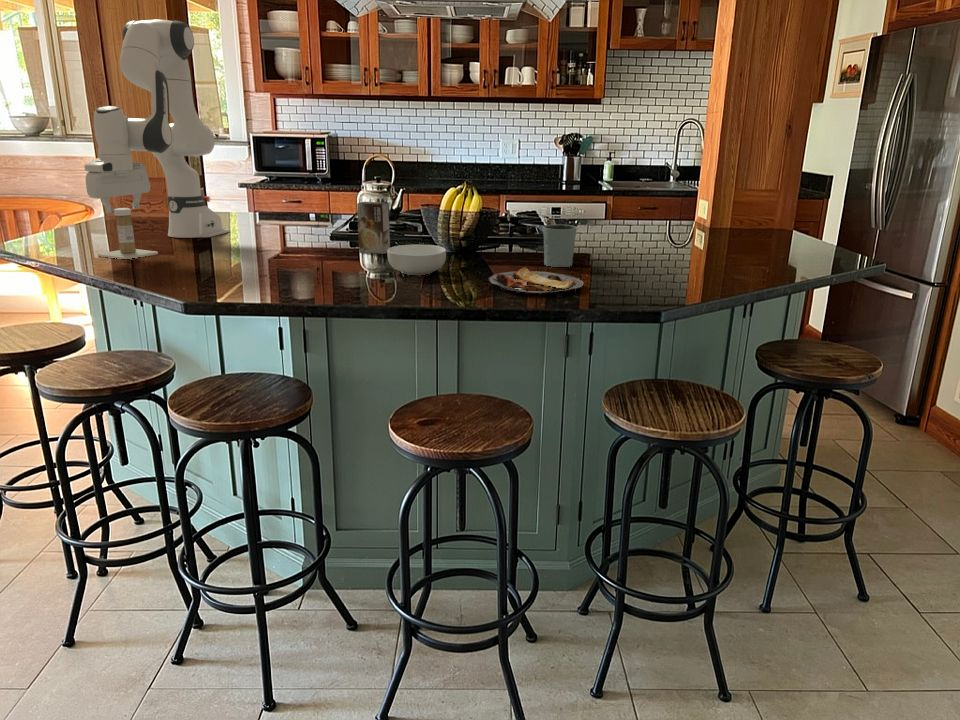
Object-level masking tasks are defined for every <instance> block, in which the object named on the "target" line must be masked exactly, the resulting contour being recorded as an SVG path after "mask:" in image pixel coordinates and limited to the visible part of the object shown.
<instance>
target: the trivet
mask: <svg viewBox="0 0 960 720" xmlns="http://www.w3.org/2000/svg"><path fill="white" fill-rule="evenodd" d="M135 249H136V252H134V253H121V252H120V249H118V250H113V251H106V252H102V253H97V257H98V256H101V257H100V258H105V257H108V258H107V259H113V258H115V260H121V259H130V260H133V259H132V258H135V259H139V258H138V257H141V258H145V256H146V257H149V256H155V255H159V251H157V250H154V251H153V250H146V249H138V248H135ZM116 258H117V259H116Z"/></svg>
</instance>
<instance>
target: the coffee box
mask: <svg viewBox="0 0 960 720" xmlns="http://www.w3.org/2000/svg"><path fill="white" fill-rule="evenodd" d="M356 208H357V211H356V213H357V229H358V231H357V232H358V235H357V236H358V253H362V254H377V255H378V254H379V255H381V254H383V255H384V254H387V250H388V249H389V248H391V238H390V237H391V236H390V235H391V234H390V230H391V229H390V203H389V202H382V201H381V202H378V201H361V202H358V203H356Z"/></svg>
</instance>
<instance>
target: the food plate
mask: <svg viewBox="0 0 960 720" xmlns="http://www.w3.org/2000/svg"><path fill="white" fill-rule="evenodd" d="M514 279H515V280H514ZM516 279H517V280H516ZM487 280H488V282H489V283H490V284H491V285H493V284H494V285H497V286H499V287H501V288H503V289H504V290H505V289H508V290H511V291H516V292H515V293H519V292H525V293H524V294H528V293H529V294H530V293H539V294H538V295H543V294H542V293H549V292H551V293H553V292H558V293H560V292H559V291H562V292H567V291H570V290H575V289H579V288H582V287H583V286H584V283H585V282H584V281H582V279H578V278H576V277H575V276H572V275H569V274H565V273H557V272H550V271H549V272H548V271H540V270H539V271H536V270H535V271H532V270H529V269H528V268H527V267H525V266H524V267H523V266H522V268H520V269H518V270H516V271H515V270H514V271H513V270H511V271H506V272H499V273H495V274H492V275H491V276H490V277H488V279H487ZM527 282H530V283H535V284H539V285H527ZM541 285H544V286H541ZM507 286H509V287H507ZM526 286H528V287H533V288H536V289H539V290H543V291H526V290H519V289H514V288H523V287H526ZM548 286H551V287H548ZM571 286H573V287H571ZM510 287H514V288H510ZM552 287H556V288H562V289H565V290H556V289H554V288H552ZM570 287H571V288H570ZM566 288H569V289H566ZM547 290H549V291H547ZM551 290H555V291H551Z"/></svg>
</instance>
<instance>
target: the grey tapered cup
mask: <svg viewBox="0 0 960 720" xmlns="http://www.w3.org/2000/svg"><path fill="white" fill-rule="evenodd" d="M577 228H578V227H577V226H575V225H571V224H561V223H560V224H559V223H557V224H555V223H554V224H546V225H543V227H542V231H543V232H542V233H543V263H544V264H543V265H544V266H545V265H546V266H545V267H547V266H551V267H550V268H552V267H569V268H571V267H572V266H573V257H574V252H575V244H576V243H575V242H576V241H575V240H576V236H577V230H578V229H577ZM570 266H571V267H570Z"/></svg>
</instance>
